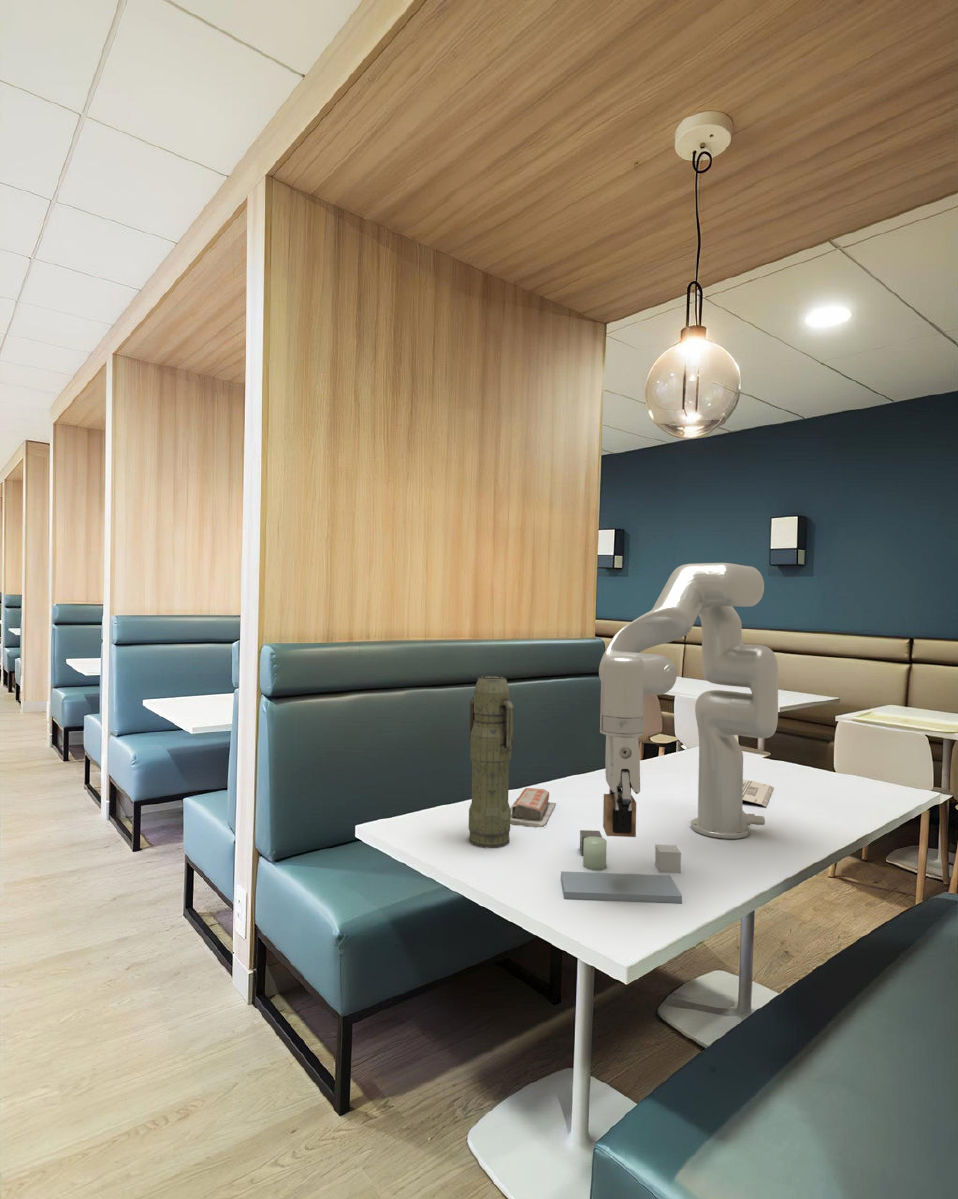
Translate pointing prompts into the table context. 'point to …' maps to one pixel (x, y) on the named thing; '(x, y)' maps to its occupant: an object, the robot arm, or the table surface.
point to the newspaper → (757, 792)
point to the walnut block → (608, 816)
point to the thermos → (490, 762)
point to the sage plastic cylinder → (594, 853)
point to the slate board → (620, 887)
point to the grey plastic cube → (668, 858)
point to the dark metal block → (587, 834)
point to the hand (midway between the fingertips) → (619, 826)
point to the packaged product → (532, 808)
